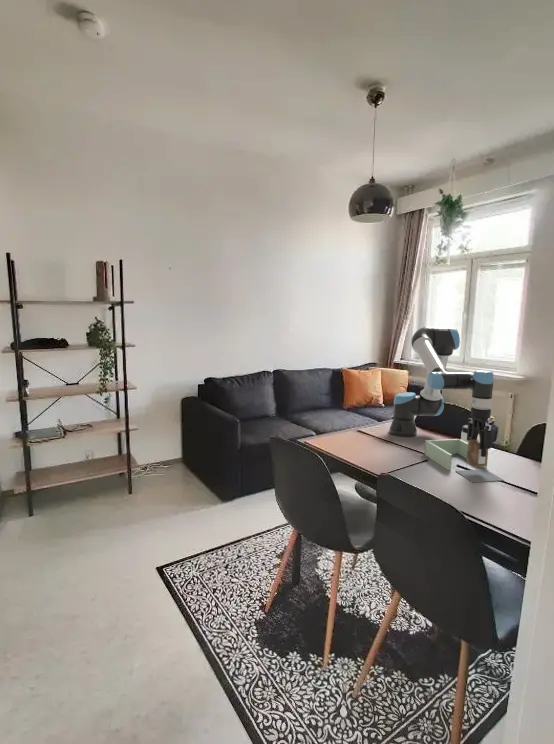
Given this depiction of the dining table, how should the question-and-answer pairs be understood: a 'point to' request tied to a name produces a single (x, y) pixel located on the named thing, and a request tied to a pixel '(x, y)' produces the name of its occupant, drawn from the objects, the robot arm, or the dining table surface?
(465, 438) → the jar
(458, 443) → the u-shaped enclosure
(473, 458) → the block
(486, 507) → the dining table surface
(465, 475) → the mat
